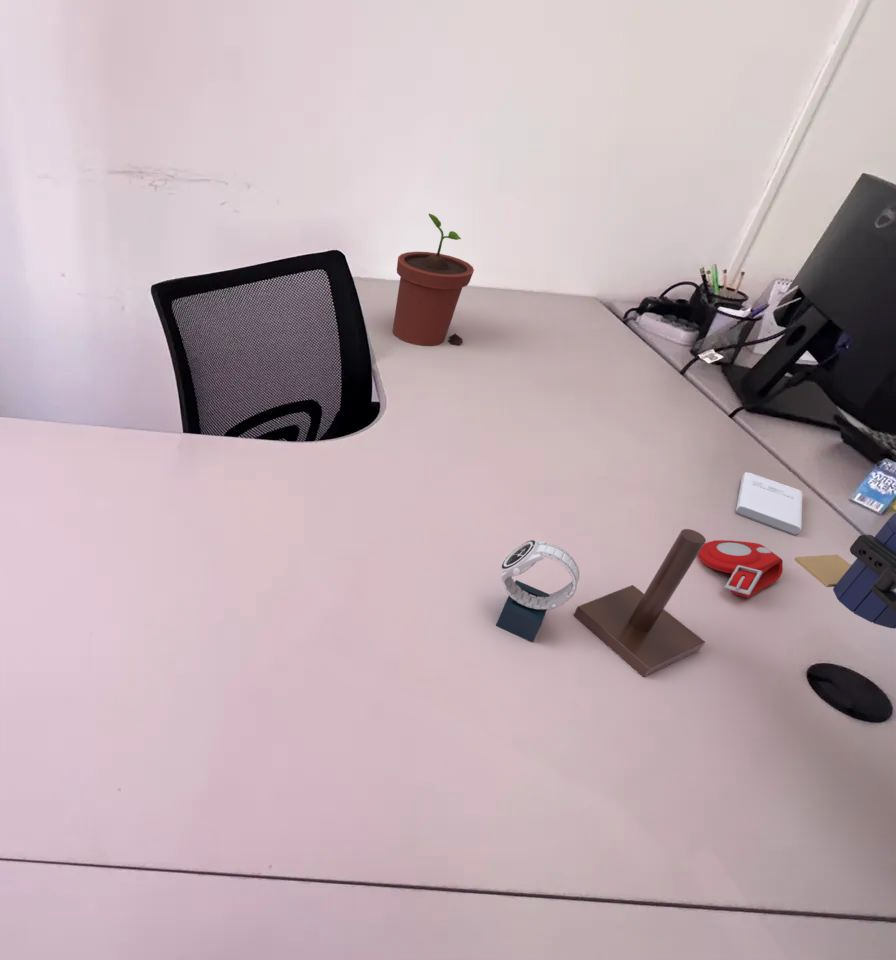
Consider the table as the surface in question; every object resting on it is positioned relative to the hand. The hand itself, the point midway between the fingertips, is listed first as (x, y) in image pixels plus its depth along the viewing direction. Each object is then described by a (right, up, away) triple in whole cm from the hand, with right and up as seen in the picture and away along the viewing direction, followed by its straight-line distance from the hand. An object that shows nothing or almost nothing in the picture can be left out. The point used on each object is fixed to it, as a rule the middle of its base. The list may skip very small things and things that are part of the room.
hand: (887, 540), depth 63 cm
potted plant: (-21, +39, +89) cm, 99 cm away
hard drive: (+21, +1, +42) cm, 47 cm away
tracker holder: (+5, -7, +28) cm, 29 cm away
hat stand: (-14, -13, +17) cm, 25 cm away
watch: (-28, -11, +17) cm, 34 cm away
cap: (0, -5, +3) cm, 6 cm away
